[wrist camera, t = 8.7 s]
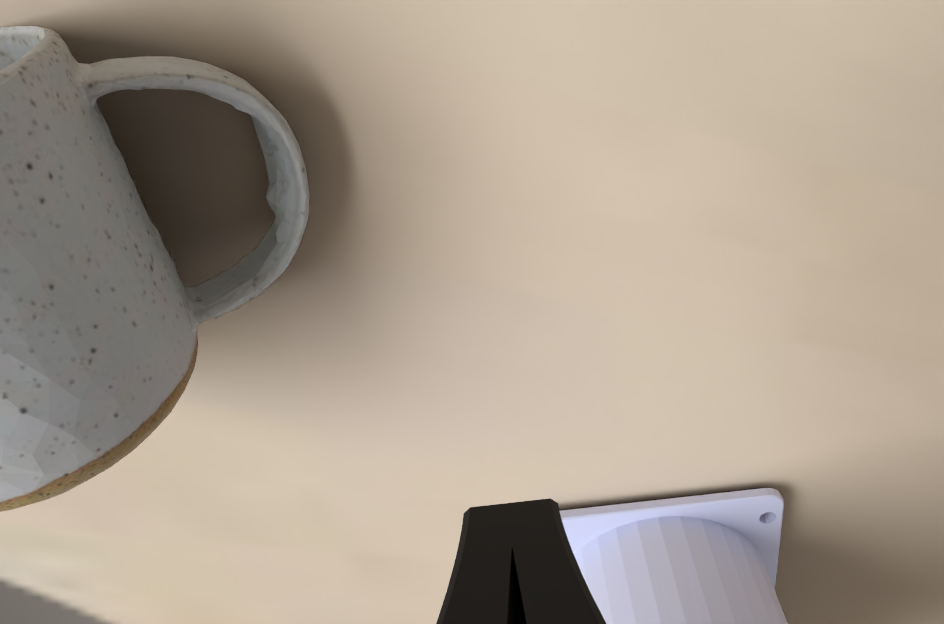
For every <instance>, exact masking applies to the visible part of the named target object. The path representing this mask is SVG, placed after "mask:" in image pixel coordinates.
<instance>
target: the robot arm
mask: <svg viewBox="0 0 944 624" xmlns="http://www.w3.org/2000/svg"><path fill="white" fill-rule="evenodd" d="M783 510H784V501H783V498H782V496H781V494H780V492H779V491H778V490H776V489H773V488H760V489H751V490H742V491H733V492H724V493H715V494H706V495H697V496H688V497H679V498H670V499H661V500H652V501H643V502H634V503H625V504H616V505H607V506H598V507H589V508H579V509H570V510H561V511H559V506H558V503H556V502H555V501H553V500H552V499H542V500H533V501H524V502H515V503H507V504H498V505H489V506H480V507H471V508H469V509H468V510H467V511H466V512H465V513H464V517H463V525H462V531H461V536H460V542H459V546H458V551H457V555H456V559H455V564H454V567H453V571H452V575H451V578H450V582H449V586H448V589H447V593H446V596H445V599H444V602H443V605H442V608H441V611H440V614H439V617H438V620H437V624H788V623H787V620H786V618H785V615H784V613H783V610H782V608H781V605H780V603H779V600H778V598H777V595H776V592H775V584H776V575H777V565H778V556H779V547H780V538H781V529H782V520H783ZM767 512H768V513H767ZM764 513H766V514H764Z"/></svg>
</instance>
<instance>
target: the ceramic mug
mask: <svg viewBox="0 0 944 624" xmlns="http://www.w3.org/2000/svg"><path fill="white" fill-rule="evenodd" d="M125 89H133V90H144V89H178V90H190V91H194V92H199V93H204V94H207V95H209V96H211V97H213V98H215V99H218V100H220V101H223V102H226V103H228V104H231V105H232V106H233V107H234V108H235V109H237V110H240V111H243V112H246V113H248V114H250V115H251V117H252V120H253V124H254V127H255V130H256V133H257V136H258V139H259V142H260V145H261V148H262V152H263V156H264V159H265V163H266V169H267V174H268V180H269V186H268V190H267V193H266V199H267V202H268V204H269V206H270V208H271V209H272V211H273V212H274V213H275V215H276V216H275V219H274V222H273V224H272V225H271V227H270V228H269V230H268V231H267V233H266V235H265V236H264V238H263V239H262V241H261V242H260V244H259V245H258V246H257V247H256V248H255V249H254V250H253V251H252V252H251V253H249V254H247V255H246V256H244V257H242V259H241V260H240V261H239V262H238V263H237V264H236V265H234V266H232V267H230V268H228V269H227V270H225V271H223V272H221V273H220V274H218V275H217V276H215V277H213V278H211V279H208V280H206V281H204V282H202V283H199V284H197V285H195V286H190V287H186V286H183V283H182V281H181V279H180V277H179V275H178V273H177V271H176V267H175V263H174V261H173V260H172V259H171V257H170V255H169V252H168V251H167V249H166V248H165V246H164V244H163V241H162V239H161V236H160V234H159V232H158V229H157V228H156V227H155V226H154V225H153V224H152V222H151V220H150V218H149V216H148V214H147V212H146V210H145V208H144V206H143V203H142V201H141V199H140V196H139V195H138V192H137V189H136V187H135V184H134V182H133V180H132V179H131V177H130V175H129V172H128V168H127V166H126V164H125V161H124V159H123V157H122V155H121V152H120V151H119V149H118V148H117V146H116V144H115V142H114V140H113V138H112V136H111V133H110V130H109V126H108V124H107V123H106V121H105V119H104V117H103V115H102V114H101V112H100V111H99V108H98V105H97V102H96V100H97V98H98V97H101V96H103V95H105V94H108V93H110V92H114V91H120V90H125ZM309 196H310V192H309V187H308V179H307V172H306V167H305V164H304V160H303V157H302V153H301V150H300V147H299V144H298V142H297V140H296V138H295V136H294V134H293V132H292V130H291V128H290V126H289V124H288V122H287V121H286V119H285V118H284V117H283V116H282V115H281V113H280V112H279V111H278V110H277V109H276V108H275V107H274V106H273V105H272V104H271V103H270V102H269V101H268V100H267V99H266V98H265V97H264V96H263V95H262V94H261V93H260V92H259V91H258V90H256V89H255V88H254V87H253V86H252V85H251V84H249V83H248V82H247V81H246V80H244V79H242V78H240V77H238V76H236V75H234V74H232V73H230V72H228V71H226V70H223V69H221V68H218V67H216V66H213V65H211V64H208V63H205V62H200V61H196V60H191V59H185V58H179V57H174V56H142V57H129V58H116V59H107V60H103V61H99V62H95V63H91V64H85V63H78V62H77V61H76V60H75V59H74V58H73V56H72V54H71V53H70V51H69V49H68V46H67V45H66V44H65V42H64V41H63V40H62V38H61V37H60V36H59V34H58V33H56V32H55V31H54V30H52V29H51V28H44V27H41V26H10V27H1V28H0V511H6V510H11V509H15V508H19V507H22V506H26V505H29V504H33V503H36V502H40V501H43V500H46V499H49V498H52V497H54V496H57V495H59V494H62V493H64V492H66V491H68V490H70V489H72V488H74V487H75V486H77V485H79V484H81V483H83V482H85V481H87V480H89V479H91V478H92V477H94V476H96V475H98V474H99V473H101V472H103V471H104V470H106V469H108V468H109V467H111V466H112V465H114V464H115V463H117V462H118V461H119V460H121V459H122V458H123V457H125V456H126V455H128V454H129V453H130V452H132V451H133V450H134V449H135V448H136V447H137V446H138V445H139V444H140V443H142V442H143V441H144V440H145V439H146V438H147V437H148V436H149V435H150V434H151V433H152V432H153V431H154V430H155V429H156V428H157V427H158V426H159V424H160V423H161V422H162V421H163V420H164V419H165V418H166V417H167V416H168V415H169V414H170V412H171V411H172V409H173V408H174V406H175V405H176V403H177V401H178V400H179V398H180V397H181V395H182V393H183V392H184V390H185V388H186V386H187V383H188V381H189V379H190V377H191V374H192V372H193V370H194V367H195V362H196V356H197V348H198V340H197V330H196V329H197V326H198V324H200V323H202V322H203V321H205V320H208V319H214V318H218V317H220V316H221V315H223V314H225V313H227V312H230V311H233V310H235V309H238V308H239V307H240V306H242V305H243V304H244V303H246V302H248V301H249V300H251V299H253V298H255V297H256V296H258V295H260V294H261V293H262V292H263V291H264V290H265V289H266V288H267V287H268V286H269V285H270V284H271V283H273V282H274V281H275V280H276V279H277V278H278V277H279V276H280V275H281V274H282V273H283V272H284V271H285V269H286V268H287V267H288V266H289V264H290V262H291V260H292V258H293V257H294V255H295V253H296V251H297V249H298V247H299V245H300V242H301V239H302V236H303V233H304V231H305V228H306V225H307V222H308V215H309V209H310V208H309Z"/></svg>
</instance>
